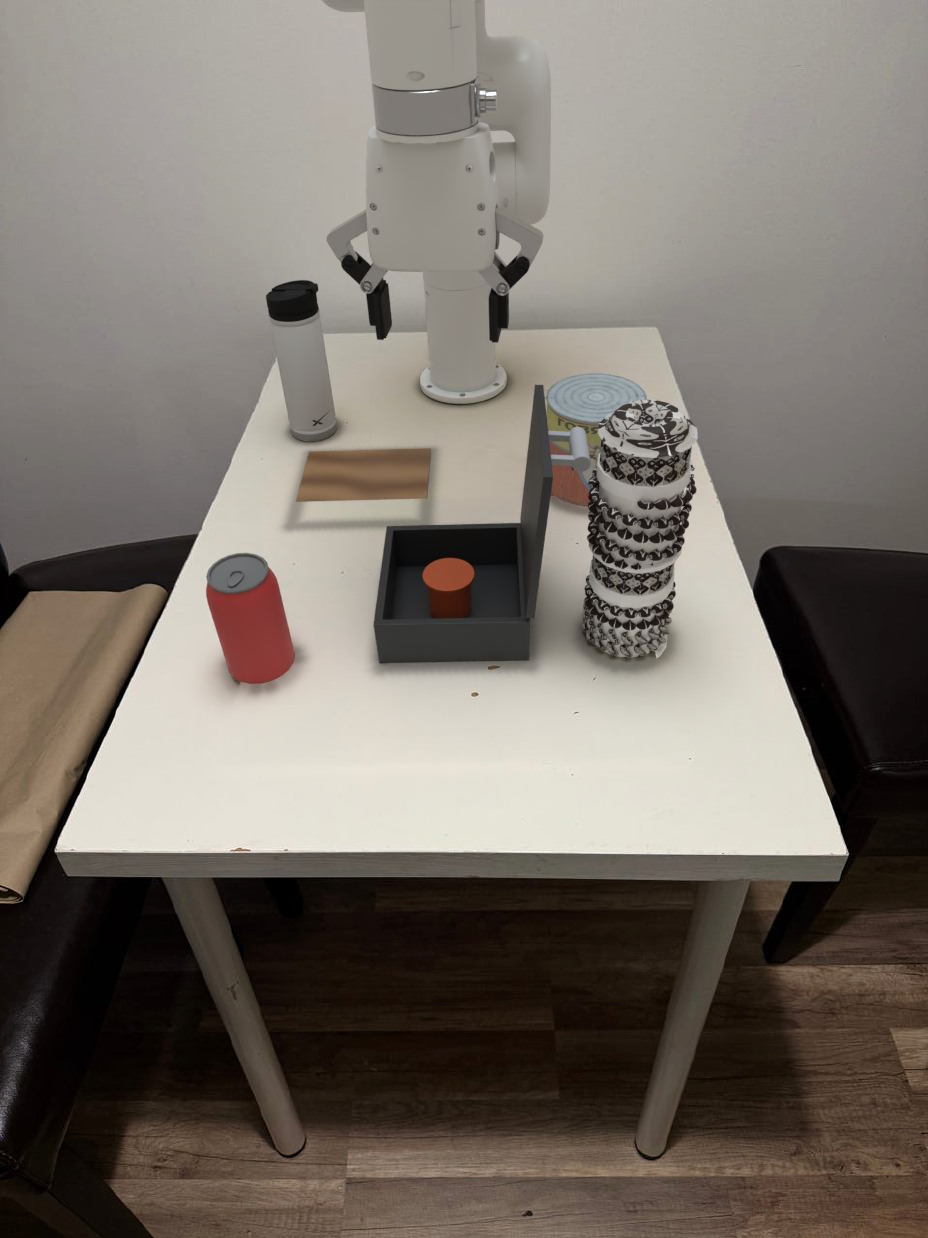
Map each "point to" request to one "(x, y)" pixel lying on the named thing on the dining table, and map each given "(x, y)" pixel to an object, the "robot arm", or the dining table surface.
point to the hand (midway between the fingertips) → (439, 334)
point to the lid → (543, 489)
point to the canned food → (583, 424)
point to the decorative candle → (637, 526)
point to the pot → (449, 587)
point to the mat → (365, 475)
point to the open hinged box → (495, 594)
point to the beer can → (249, 618)
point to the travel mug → (302, 359)
